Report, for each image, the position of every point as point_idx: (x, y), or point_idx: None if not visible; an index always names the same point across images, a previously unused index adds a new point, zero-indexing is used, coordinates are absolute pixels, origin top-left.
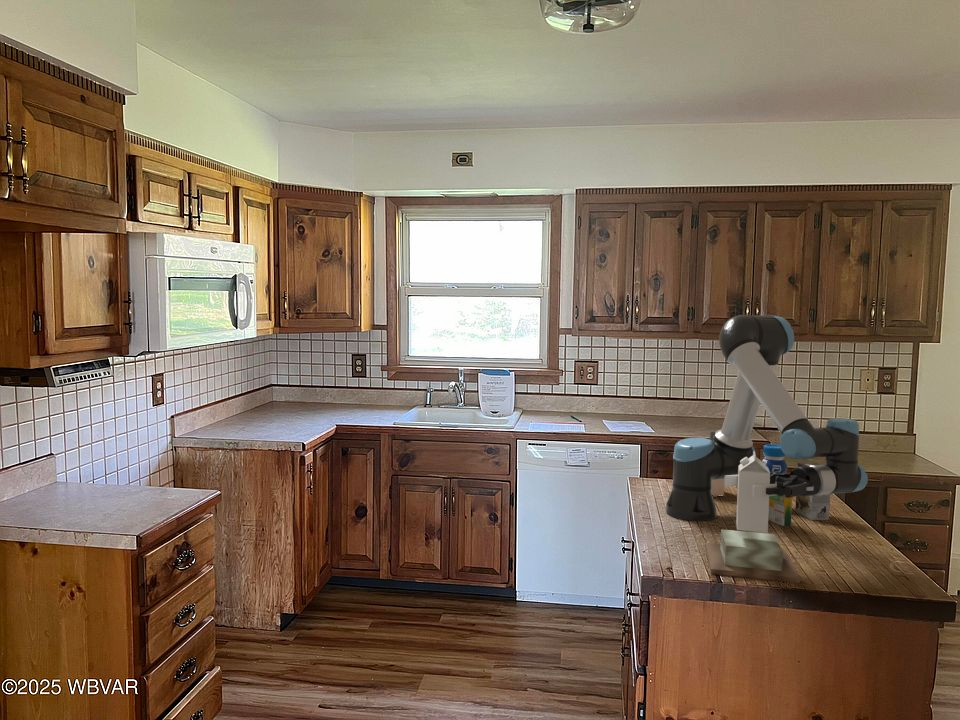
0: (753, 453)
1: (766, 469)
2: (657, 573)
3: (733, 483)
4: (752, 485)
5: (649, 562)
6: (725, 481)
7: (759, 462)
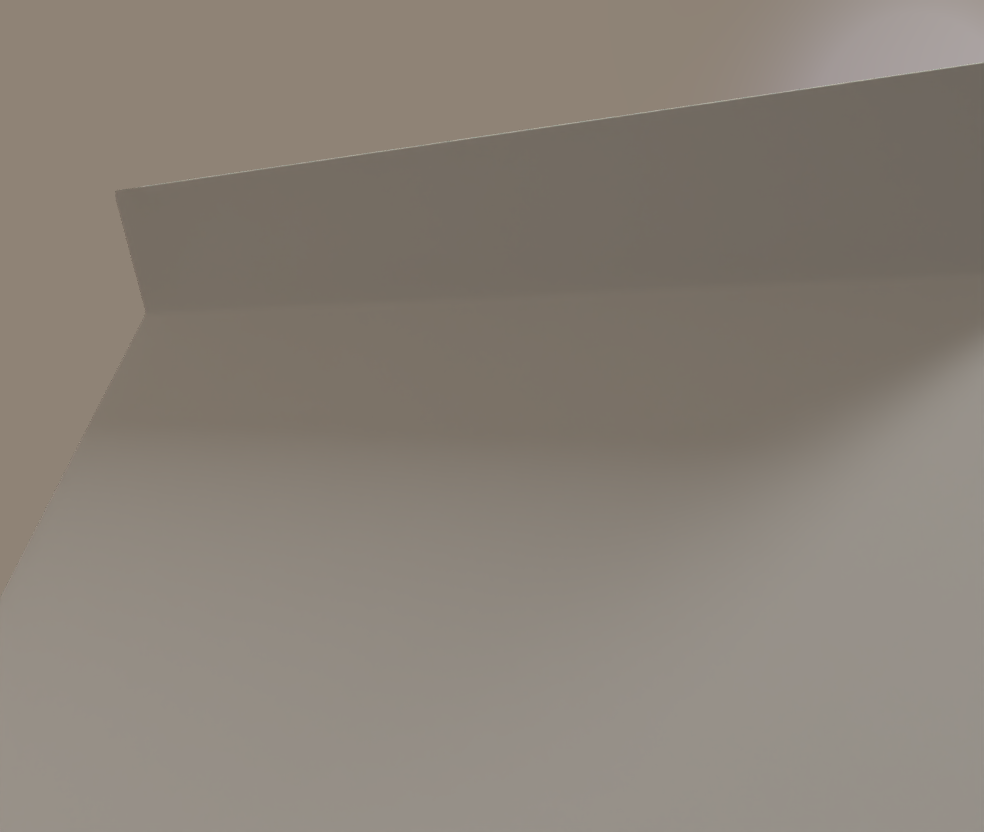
0: (904, 171)
1: (60, 745)
2: None
3: None
4: None
5: None
6: None
7: (316, 471)
